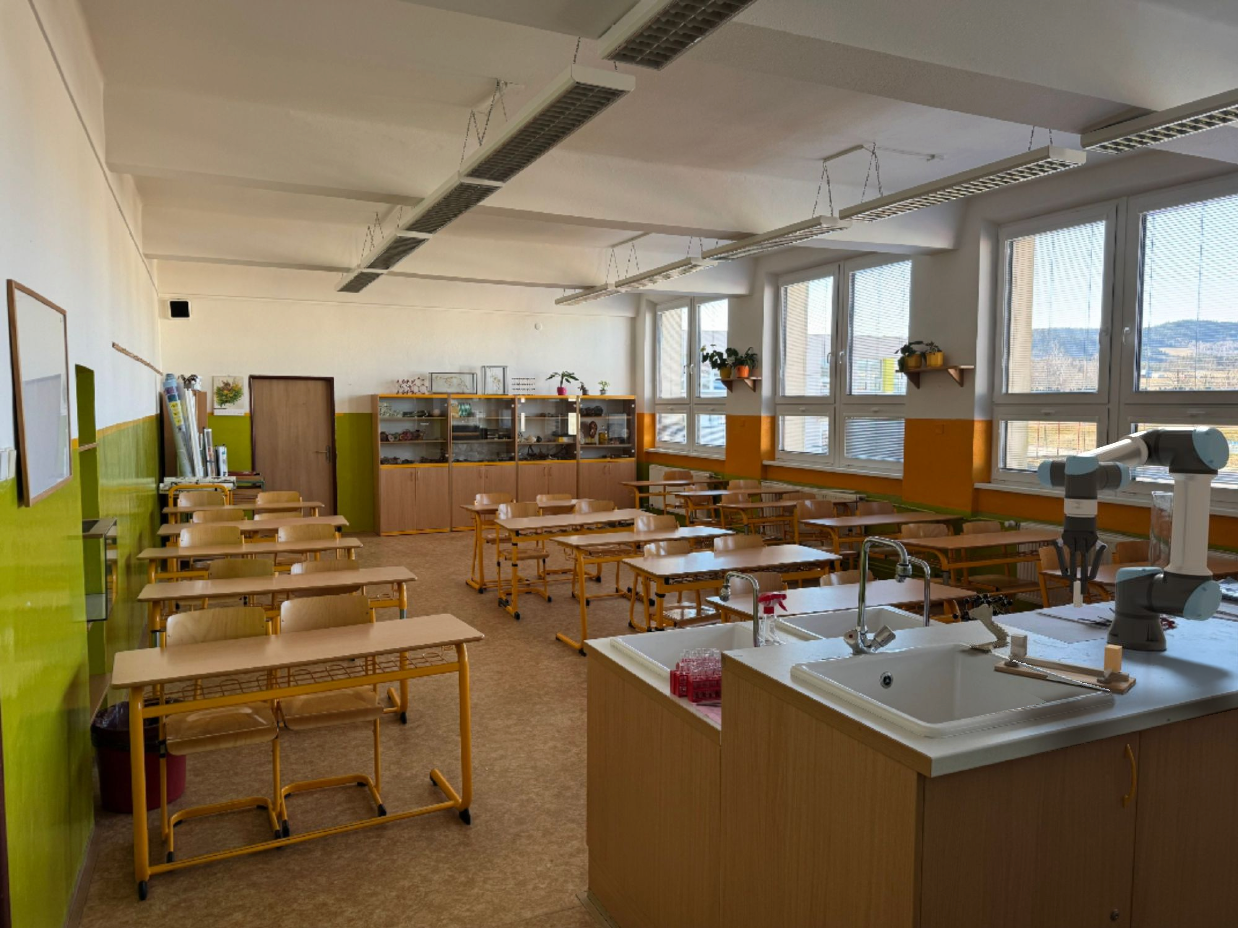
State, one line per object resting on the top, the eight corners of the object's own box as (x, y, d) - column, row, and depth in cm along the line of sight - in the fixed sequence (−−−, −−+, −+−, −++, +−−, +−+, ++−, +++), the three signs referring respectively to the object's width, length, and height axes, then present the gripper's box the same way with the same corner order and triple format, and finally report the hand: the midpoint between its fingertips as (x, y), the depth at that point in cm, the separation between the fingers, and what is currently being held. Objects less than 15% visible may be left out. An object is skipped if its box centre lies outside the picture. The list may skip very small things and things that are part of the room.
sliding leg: (1107, 670, 221) (1108, 644, 220) (1121, 672, 219) (1122, 646, 218) (1098, 677, 214) (1099, 650, 214) (1112, 679, 212) (1113, 652, 212)
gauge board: (1010, 660, 238) (1011, 630, 238) (1135, 682, 218) (1136, 650, 217) (994, 669, 228) (995, 639, 228) (1123, 694, 208) (1124, 660, 208)
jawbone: (1013, 664, 252) (986, 648, 245) (989, 664, 258) (962, 648, 250) (1017, 619, 258) (990, 601, 250) (993, 619, 263) (966, 602, 256)
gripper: (1048, 514, 224) (1046, 605, 225) (1105, 518, 215) (1102, 612, 216) (1057, 512, 229) (1054, 600, 230) (1112, 516, 221) (1109, 608, 222)
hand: (1077, 606), depth 223 cm, fingers closed
